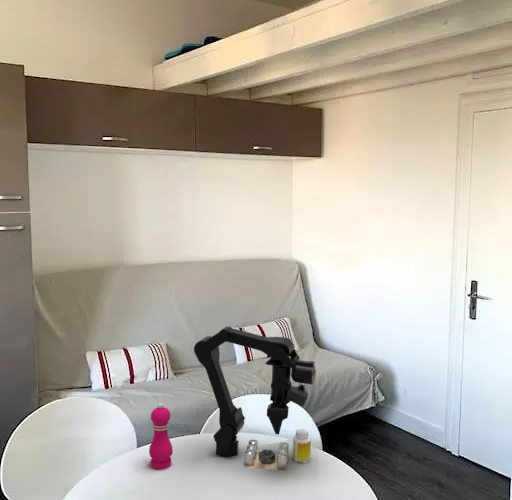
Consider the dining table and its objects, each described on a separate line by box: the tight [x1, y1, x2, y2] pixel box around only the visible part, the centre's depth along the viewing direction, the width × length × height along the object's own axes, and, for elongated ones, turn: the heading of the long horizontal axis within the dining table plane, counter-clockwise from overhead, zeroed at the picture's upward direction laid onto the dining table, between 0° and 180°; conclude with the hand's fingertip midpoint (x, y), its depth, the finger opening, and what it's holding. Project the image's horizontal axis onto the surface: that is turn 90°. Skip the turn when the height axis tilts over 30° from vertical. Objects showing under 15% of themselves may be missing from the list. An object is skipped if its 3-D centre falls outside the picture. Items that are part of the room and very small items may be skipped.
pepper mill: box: [148, 402, 174, 470], centre depth 179 cm, size 7×7×20 cm
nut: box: [258, 449, 276, 465], centre depth 181 cm, size 5×4×3 cm
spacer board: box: [243, 451, 287, 472], centre depth 179 cm, size 13×14×1 cm
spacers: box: [244, 439, 290, 471], centre depth 181 cm, size 13×10×4 cm
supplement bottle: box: [292, 428, 312, 464], centre depth 182 cm, size 6×6×10 cm
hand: (278, 427), depth 179 cm, fingers open, 9 cm apart
